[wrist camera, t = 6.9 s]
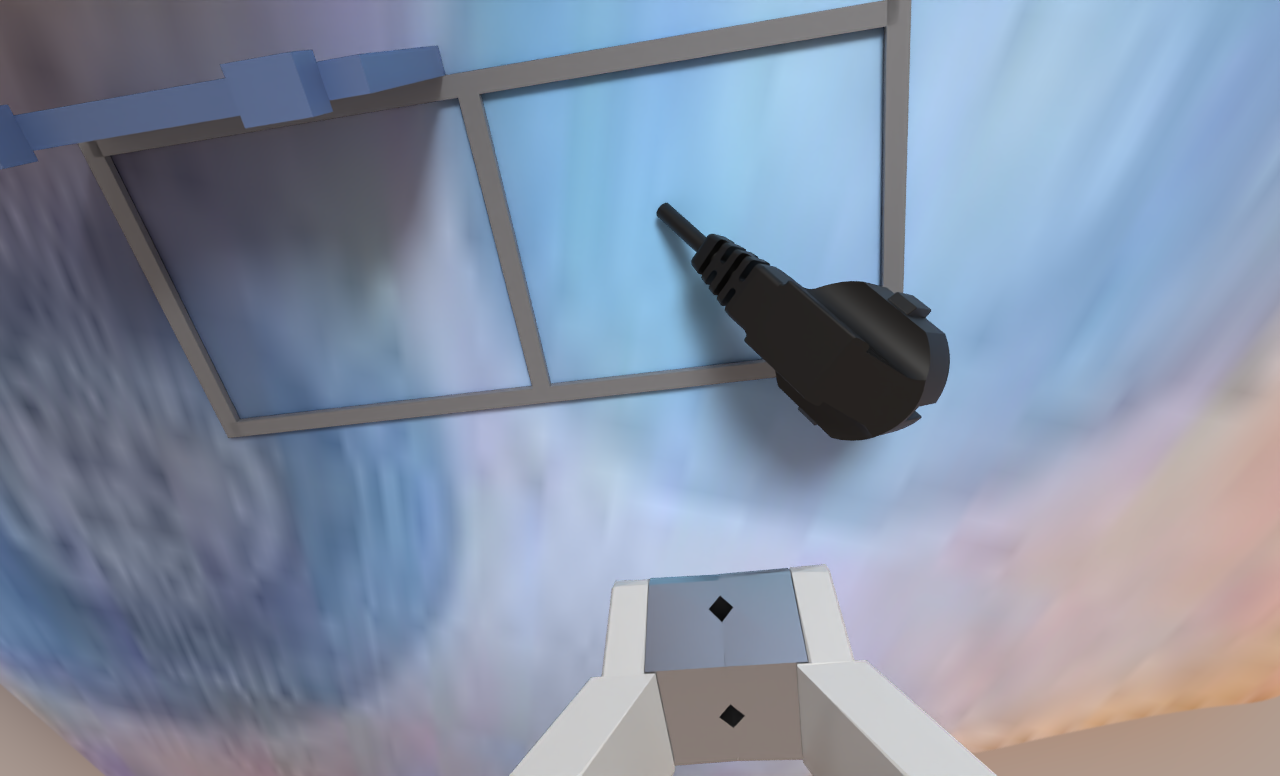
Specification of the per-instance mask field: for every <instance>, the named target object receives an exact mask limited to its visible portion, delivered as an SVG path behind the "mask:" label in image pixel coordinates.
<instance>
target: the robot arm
mask: <svg viewBox="0 0 1280 776" xmlns="http://www.w3.org/2000/svg"><path fill="white" fill-rule="evenodd" d="M753 760H803V763H804V764H805V766H806V767H807V768H808V770H809V771H810V772H811V774H812V775H813V776H997V775H996V774H995V773H993V772H992V771H991V770H990V769H989V768H988V767H987V766H986V765H984V764H983V763H982V762H981V761H980V760H979V759H977V758H976V757H975V756H974V755H973V754H972V753H971V752H970V751H969V750H967V749H966V748H965V747H964V746H963V745H962V744H961V743H960V742H958V741H957V740H956V739H955V738H954V737H953V736H952V735H950V734H949V733H948V732H947V731H946V730H945V729H944V728H943V727H941V726H940V725H939V724H938V723H937V722H936V721H935V720H933V719H932V718H931V717H930V716H929V715H928V714H927V713H926V712H924V711H923V710H922V709H921V708H920V707H919V706H918V705H916V704H915V703H914V702H913V701H912V700H911V699H910V698H909V697H907V696H906V695H905V694H904V693H903V692H902V691H901V690H900V689H898V688H897V687H896V686H895V685H894V684H893V683H892V682H890V681H889V680H888V679H887V678H886V677H885V676H884V675H883V674H881V673H880V672H879V671H878V670H877V669H876V668H875V667H873V666H872V665H871V664H870V663H869V662H868V661H867V660H856V661H855V660H854V657H853V653H852V650H851V646H850V642H849V639H848V635H847V631H846V628H845V624H844V621H843V617H842V613H841V610H840V606H839V602H838V599H837V595H836V592H835V588H834V584H833V581H832V577H831V573H830V570H829V568H828V567H827V566H826V565H825V564H823V565H812V566H801V567H790V569H788V568H782V569H770V570H759V571H748V572H736V573H725V574H718V575H700V576H682V577H664V578H650V579H643V580H622V581H615V583H614V585H613V588H612V591H611V599H610V608H609V617H608V625H607V634H606V642H605V651H604V660H603V668H602V677H591V678H590V679H589V680H588V682H587V683H586V684H585V685H584V686H583V688H582V689H581V690H580V691H579V692H578V694H577V695H576V696H575V697H574V698H573V700H572V701H571V702H570V703H569V704H568V706H567V707H566V708H565V709H564V710H563V711H562V713H561V714H560V715H559V716H558V717H557V719H556V720H555V721H554V722H553V723H552V725H551V726H550V727H549V728H548V729H547V731H546V732H545V733H544V734H543V735H542V737H541V738H540V739H539V740H538V741H537V743H536V744H535V745H534V746H533V747H532V749H531V750H530V751H529V752H528V753H527V755H526V756H525V757H524V758H523V759H522V761H521V762H520V763H519V764H518V765H517V767H516V768H515V769H514V770H513V771H512V772H511V774H510V775H509V776H672V775H673V773H674V772H675V766H676V765H689V764H702V763H715V762H728V761H753Z"/></svg>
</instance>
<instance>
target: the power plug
mask: <svg viewBox="0 0 1280 776" xmlns="http://www.w3.org/2000/svg"><path fill="white" fill-rule="evenodd" d="M657 217H658V218H660V219H661V220H662V221H663V222H664V223H665V224H666V225H667V226H668V227H669V228H671V229H672V230H673V231H674V232H675V233H676V234H677V235H678V236H679V237H680V238H681V239H683V240H684V241H685V242H686V243H687V244H688V245H689V246H690V247H691V248H692V249H694V250H695V251H696V252H697V253H696V254H695V256H694V257H693V259H692V261H691V264H692V266H693V267H694V269H695V270H696V271H697V273H698V274H701V275H702V277H701V278H702V280H703V281H704V282H705V284H708V285H710V286H709V289H710V291H711V292H712V293H713V294H714V295H718V296H717V300H718V302H719V303H720V304H721V305H722V306H726V307H725V311H726V312H727V314H728V315H729V316H730V317H731V318H732V319H733V320H734V321H735V322H736V323H737V324H738V325H739V326H741V327H742V328H743V329H744V330H745V332H746V334H747V335H746V337H745V339H744V341H745V342H746V343H747V344H748V345H749V346H750V347H751V348H752V349H753V350H754V351H755V352H756V353H757V354H758V355H759V356H761V357H762V358H763V359H764V360H765V361H766V362H767V363H768V364H769V365H770V366H771V367H772V368H773V369H774V370H775V373H776V378H777V383H778V386H779V388H780V389H781V390H783V391H784V392H785V393H786V394H787V395H788V396H789V397H790V398H791V399H792V400H793V401H794V402H795V403H796V404H797V405H798V406H799V408H798V410H799V411H800V412H801V413H802V414H803V415H804V416H805V417H806V418H807V419H809V420H810V421H811V422H812V423H813V424H814V425H817V424H818V425H819V426H820V427H821V428H822V429H823V430H824V431H825V432H826V433H827V434H828V435H829V436H830V437H831V438H835V439H840V440H850V441H852V440H853V441H854V440H865V439H870V438H873V437H876V436H879V435H883V434H886V433H890V432H894V431H898V430H900V429H903V428H905V427H907V426H909V425H911V424H913V423H915V422H916V421H918V420H919V419H921V416H920V415H919V414H918V413H917V412H916V411H915V410H916V409H917V408H918V407H919V406H924V405H928V404H933V403H936V402H937V400H938V398H939V397H940V395H941V393H942V391H943V389H944V387H945V384H946V381H947V377H948V373H949V365H950V354H949V347H948V342H947V339H946V335H945V333H943V332H942V331H941V330H940V329H938V328H937V327H936V326H935V325H933V324H932V323H931V322H929V321H928V320H927V319H926V316H927V315H928V314H929V313H930V312H931V309H930V308H928V307H927V306H926V305H924V304H923V303H922V302H921V301H919V300H918V299H917V298H916V297H914V296H913V295H908V294H904V293H900V292H896V293H895V294H894V293H893V292H892V291H891V290H889V289H888V288H887V287H882V286H878V285H874V284H870V283H866V282H859V281H848V282H839V283H834V284H830V285H826V286H822V287H819V288H816V289H806V288H804V287H802V286H800V285H799V284H798V283H797V282H796V281H794V280H793V279H792V278H791V277H789V276H788V275H787V274H785V273H784V272H783V271H781V270H780V269H778V268H776V267H773V266H770V264H769V263H768V262H766V261H764V260H762V259H759V258H758V257H757V256H756V255H754V254H753V253H751V252H747V251H746V249H744V248H742V247H741V246H739V245H736V244H734V242H732V241H731V240H729V239H727V238H726V237H723V236H720V235H716V234H709V235H708V236H707V237H705V236H704V235H703V234H702V233H701V232H700V231H699V230H698V229H696V228H695V227H694V226H693V225H692V224H691V223H690V222H689V221H687V220H686V219H685V218H684V217H683V216H682V215H681V214H680V213H678V212H677V211H676V210H675V209H674V208H673V207H672V206H671V205H669V204H668V203H664V204H662V205H661V206H660V207H659V208H658V210H657Z"/></svg>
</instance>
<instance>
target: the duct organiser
mask: <svg viewBox="0 0 1280 776" xmlns="http://www.w3.org/2000/svg"><path fill="white" fill-rule="evenodd" d="M880 27H884V108H883V192H882V275H881V286H882V287H887V288H888V289H889V290H891V291H892V292H893V293H894V294H895V293H896V292H900V293H903V280H904V244H905V208H906V172H907V136H908V100H909V64H910V28H911V0H883V1H877V2H872V3H866V4H860V5H854V6H848V7H842V8H836V9H831V10H825V11H819V12H813V13H807V14H801V15H795V16H790V17H784V18H778V19H772V20H766V21H760V22H754V23H749V24H743V25H737V26H731V27H725V28H719V29H714V30H708V31H702V32H696V33H690V34H684V35H678V36H673V37H667V38H661V39H655V40H649V41H643V42H637V43H632V44H626V45H620V46H614V47H608V48H602V49H596V50H591V51H585V52H579V53H573V54H567V55H561V56H555V57H550V58H544V59H538V60H532V61H526V62H520V63H514V64H509V65H503V66H497V67H491V68H485V69H479V70H473V71H468V72H462V73H456V74H450V75H445V71H444V68H443V64H442V60H441V56H440V52H439V48H438V46H429V47H420V48H411V49H402V50H393V51H384V52H375V53H366V54H358V55H352V56H346V57H341V58H335V59H330V60H324V61H318V62H316V60H315V57H314V54H313V51H312V50H305V51H293V52H286V53H281V54H275V55H270V56H264V57H259V58H253V59H247V60H242V61H236V62H231V63H225V64H220V66H221V69H222V71H223V74H224V76H225V78H222V79H217V80H211V81H205V82H200V83H194V84H188V85H183V86H177V87H172V88H166V89H160V90H155V91H149V92H143V93H138V94H132V95H126V96H121V97H115V98H109V99H104V100H98V101H93V102H87V103H81V104H76V105H70V106H64V107H59V108H53V109H47V110H42V111H36V112H30V113H25V114H19V115H13V113H12V112H11V110H10V108H9V106H8V105H0V169H5V168H10V167H14V166H19V165H23V164H28V163H32V162H37V161H38V159H37V158H36V156H35V154H34V152H33V151H35V150H40V149H46V148H52V147H58V146H64V145H70V144H76V143H78V145H79V147H80V149H81V151H82V153H83V155H84V157H85V159H86V161H87V163H88V165H89V167H90V169H91V171H92V173H93V174H94V176H95V178H96V180H97V182H98V184H99V186H100V188H101V190H102V192H103V194H104V196H105V198H106V200H107V202H108V204H109V206H110V208H111V210H112V212H113V214H114V215H115V217H116V219H117V221H118V223H119V225H120V227H121V229H122V231H123V233H124V235H125V237H126V239H127V241H128V243H129V245H130V247H131V249H132V251H133V253H134V255H135V257H136V258H137V260H138V262H139V264H140V266H141V268H142V270H143V272H144V274H145V276H146V278H147V280H148V282H149V284H150V286H151V288H152V290H153V292H154V294H155V296H156V298H157V300H158V301H159V303H160V305H161V307H162V309H163V311H164V313H165V315H166V317H167V319H168V321H169V323H170V325H171V327H172V329H173V331H174V333H175V335H176V337H177V339H178V341H179V343H180V344H181V346H182V348H183V350H184V352H185V354H186V356H187V358H188V360H189V362H190V364H191V366H192V368H193V370H194V372H195V374H196V376H197V378H198V380H199V382H200V384H201V386H202V387H203V389H204V391H205V393H206V395H207V397H208V399H209V401H210V403H211V405H212V407H213V409H214V411H215V413H216V415H217V417H218V419H219V421H220V423H221V425H222V427H223V429H224V430H225V432H226V434H227V436H228V438H232V437H242V436H251V435H260V434H269V433H278V432H287V431H296V430H305V429H314V428H323V427H332V426H341V425H350V424H359V423H368V422H377V421H386V420H395V419H404V418H413V417H422V416H431V415H440V414H449V413H458V412H467V411H476V410H485V409H494V408H503V407H512V406H521V405H530V404H539V403H548V402H557V401H566V400H575V399H584V398H593V397H602V396H611V395H620V394H629V393H638V392H648V391H657V390H666V389H675V388H684V387H693V386H702V385H711V384H720V383H729V382H738V381H747V380H756V379H765V378H774V377H776V373H775V370H774V369H773V368H772V367H771V366H770V365H769V364H768V363H767V362H766V361H765V360H764V359H762V360H754V361H745V362H736V363H727V364H718V365H710V366H701V367H692V368H683V369H675V370H666V371H657V372H648V373H640V374H631V375H622V376H613V377H604V378H596V379H587V380H578V381H569V382H561V383H552V384H551V382H550V378H549V373H548V369H547V365H546V361H545V357H544V353H543V349H542V344H541V340H540V336H539V332H538V328H537V324H536V320H535V315H534V311H533V307H532V303H531V299H530V295H529V291H528V286H527V282H526V278H525V274H524V270H523V266H522V262H521V258H520V253H519V249H518V245H517V241H516V237H515V233H514V229H513V224H512V220H511V216H510V212H509V208H508V204H507V200H506V195H505V191H504V187H503V183H502V179H501V175H500V171H499V166H498V162H497V158H496V154H495V150H494V146H493V142H492V138H491V133H490V129H489V125H488V121H487V117H486V113H485V109H484V104H483V100H482V96H481V94H483V93H489V92H495V91H501V90H507V89H513V88H519V87H525V86H531V85H537V84H543V83H549V82H555V81H561V80H567V79H573V78H579V77H585V76H591V75H597V74H603V73H609V72H615V71H621V70H627V69H633V68H639V67H645V66H651V65H657V64H663V63H669V62H675V61H681V60H687V59H693V58H699V57H705V56H711V55H717V54H723V53H729V52H735V51H741V50H747V49H753V48H759V47H765V46H771V45H777V44H783V43H789V42H795V41H801V40H807V39H813V38H820V37H826V36H832V35H838V34H844V33H850V32H856V31H862V30H868V29H874V28H880ZM453 98H458V99H459V103H460V107H461V111H462V115H463V118H464V122H465V126H466V130H467V134H468V138H469V142H470V146H471V150H472V154H473V157H474V161H475V165H476V169H477V173H478V177H479V181H480V185H481V189H482V193H483V196H484V200H485V204H486V208H487V212H488V216H489V220H490V224H491V228H492V231H493V235H494V239H495V243H496V247H497V251H498V255H499V259H500V263H501V267H502V270H503V274H504V278H505V282H506V286H507V290H508V294H509V298H510V302H511V306H512V309H513V313H514V317H515V321H516V325H517V329H518V333H519V337H520V341H521V344H522V348H523V352H524V356H525V360H526V364H527V368H528V372H529V376H530V380H531V383H532V386H526V387H517V388H508V389H499V390H491V391H482V392H473V393H464V394H455V395H447V396H438V397H429V398H420V399H412V400H403V401H394V402H385V403H377V404H368V405H359V406H350V407H341V408H333V409H324V410H315V411H306V412H298V413H289V414H280V415H271V416H263V417H254V418H245V419H240V418H239V416H238V414H237V412H236V410H235V408H234V406H233V404H232V402H231V400H230V398H229V396H228V394H227V392H226V390H225V388H224V386H223V384H222V382H221V380H220V378H219V376H218V374H217V372H216V370H215V368H214V366H213V364H212V362H211V360H210V357H209V355H208V353H207V351H206V349H205V347H204V345H203V343H202V341H201V339H200V337H199V335H198V333H197V331H196V329H195V327H194V325H193V323H192V321H191V319H190V317H189V315H188V313H187V311H186V309H185V307H184V305H183V303H182V301H181V299H180V297H179V295H178V293H177V291H176V289H175V287H174V285H173V283H172V281H171V279H170V277H169V275H168V273H167V271H166V269H165V267H164V265H163V263H162V260H161V258H160V256H159V254H158V252H157V250H156V248H155V246H154V244H153V242H152V240H151V238H150V236H149V234H148V232H147V230H146V228H145V226H144V224H143V222H142V220H141V218H140V216H139V214H138V212H137V210H136V208H135V206H134V204H133V202H132V200H131V198H130V196H129V194H128V192H127V190H126V188H125V186H124V184H123V182H122V180H121V178H120V176H119V174H118V172H117V170H116V168H115V166H114V163H113V161H112V159H111V157H110V156H111V155H117V154H123V153H129V152H135V151H141V150H147V149H153V148H159V147H165V146H171V145H177V144H183V143H189V142H195V141H201V140H207V139H213V138H219V137H225V136H231V135H237V134H243V133H249V132H255V131H261V130H267V129H273V128H279V127H285V126H291V125H297V124H303V123H309V122H315V121H321V120H327V119H333V118H339V117H345V116H351V115H357V114H363V113H369V112H375V111H381V110H387V109H393V108H399V107H405V106H411V105H417V104H423V103H429V102H435V101H441V100H447V99H453Z"/></svg>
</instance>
